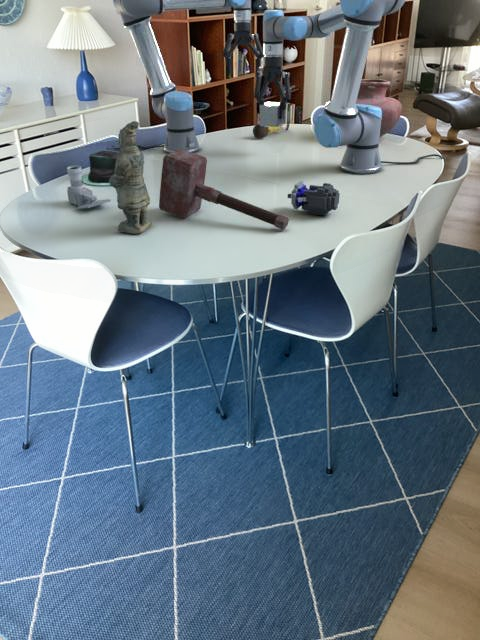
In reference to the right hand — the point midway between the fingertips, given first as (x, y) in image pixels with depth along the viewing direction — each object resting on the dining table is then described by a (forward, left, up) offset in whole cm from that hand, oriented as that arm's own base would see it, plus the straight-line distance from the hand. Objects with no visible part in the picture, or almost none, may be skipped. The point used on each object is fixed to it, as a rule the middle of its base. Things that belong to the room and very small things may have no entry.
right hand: (272, 117), depth 225 cm
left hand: (+12, -39, +12) cm, 42 cm away
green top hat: (+62, +31, -15) cm, 71 cm away
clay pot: (-43, -27, -15) cm, 53 cm away
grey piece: (+62, +63, -15) cm, 90 cm away
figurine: (0, -39, -15) cm, 42 cm away
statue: (+42, +84, -15) cm, 95 cm away
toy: (-11, +72, -15) cm, 74 cm away
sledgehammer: (+16, +78, -15) cm, 81 cm away
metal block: (0, 0, -3) cm, 3 cm away
